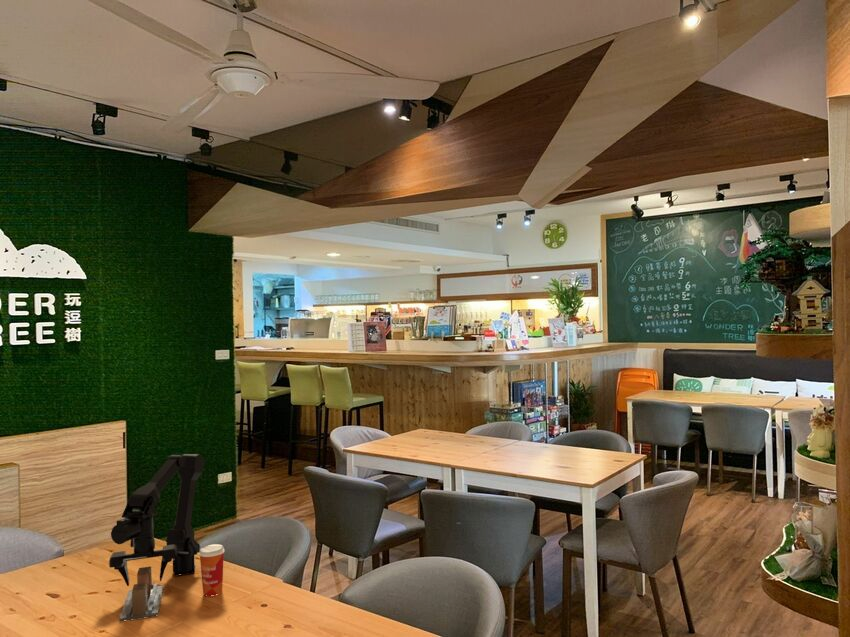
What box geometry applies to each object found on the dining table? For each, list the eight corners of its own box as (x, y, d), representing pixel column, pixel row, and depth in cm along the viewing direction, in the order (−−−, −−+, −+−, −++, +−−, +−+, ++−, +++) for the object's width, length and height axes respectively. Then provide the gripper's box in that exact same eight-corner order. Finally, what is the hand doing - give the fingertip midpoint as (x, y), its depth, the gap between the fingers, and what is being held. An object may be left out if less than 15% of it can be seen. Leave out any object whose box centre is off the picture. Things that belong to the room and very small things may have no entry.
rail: (163, 588, 196) (162, 563, 196) (158, 615, 177) (157, 587, 177) (128, 593, 193) (128, 568, 193) (119, 622, 174) (119, 593, 174)
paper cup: (194, 595, 190) (193, 550, 190) (213, 586, 197) (212, 542, 197) (212, 600, 186) (211, 554, 186) (231, 590, 193) (230, 545, 193)
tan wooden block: (151, 588, 194) (151, 566, 194) (150, 595, 188) (149, 572, 188) (139, 590, 192) (139, 567, 193) (137, 597, 187) (136, 574, 187)
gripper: (177, 521, 202) (178, 569, 201) (113, 529, 195) (115, 578, 195) (175, 531, 191) (176, 582, 191) (108, 540, 185) (109, 592, 185)
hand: (144, 583), depth 191 cm, fingers open, 9 cm apart
